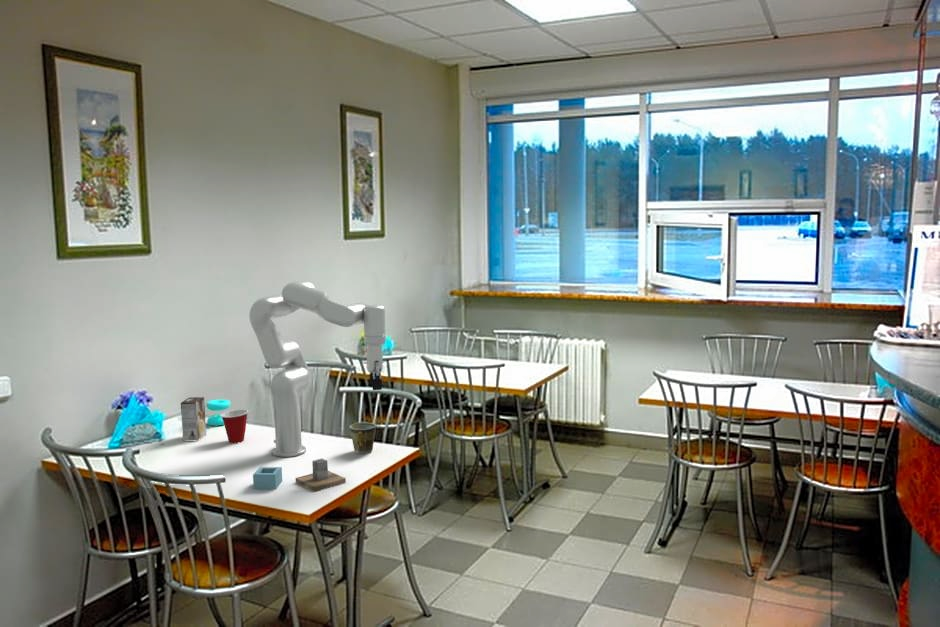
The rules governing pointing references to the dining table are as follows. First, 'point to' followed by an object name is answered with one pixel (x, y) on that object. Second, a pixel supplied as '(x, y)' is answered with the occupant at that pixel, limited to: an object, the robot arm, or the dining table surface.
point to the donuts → (217, 406)
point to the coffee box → (193, 418)
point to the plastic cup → (235, 424)
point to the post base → (320, 483)
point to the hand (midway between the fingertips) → (375, 386)
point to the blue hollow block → (267, 478)
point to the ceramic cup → (363, 437)
